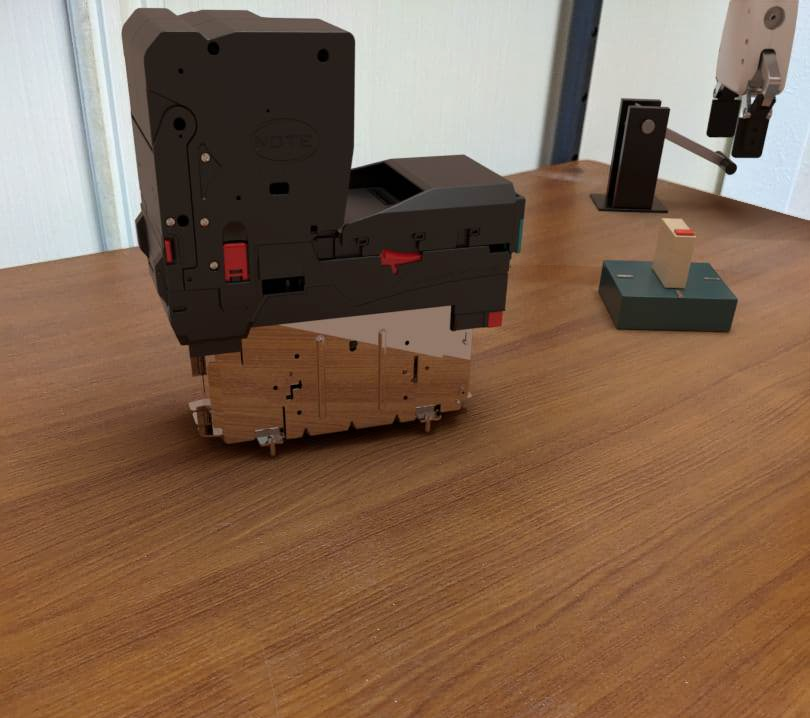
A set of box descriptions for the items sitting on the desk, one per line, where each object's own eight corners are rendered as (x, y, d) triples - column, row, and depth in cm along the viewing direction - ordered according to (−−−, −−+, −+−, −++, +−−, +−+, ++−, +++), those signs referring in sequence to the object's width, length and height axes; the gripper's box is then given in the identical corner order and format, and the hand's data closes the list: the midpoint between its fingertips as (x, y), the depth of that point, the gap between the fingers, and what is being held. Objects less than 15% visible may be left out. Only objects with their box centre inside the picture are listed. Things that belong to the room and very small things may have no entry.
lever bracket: (654, 205, 111) (674, 99, 104) (666, 221, 106) (688, 110, 99) (588, 203, 111) (604, 96, 104) (597, 219, 106) (614, 107, 99)
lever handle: (715, 168, 108) (728, 149, 107) (729, 181, 104) (742, 161, 102) (620, 120, 105) (632, 99, 104) (630, 131, 100) (643, 109, 99)
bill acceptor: (506, 424, 66) (551, 26, 51) (182, 474, 59) (125, 32, 44) (450, 362, 74) (475, 2, 59) (158, 400, 67) (103, 4, 52)
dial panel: (701, 293, 88) (709, 260, 86) (730, 332, 80) (739, 297, 79) (597, 290, 88) (603, 257, 86) (616, 329, 80) (623, 294, 78)
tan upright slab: (651, 267, 84) (662, 215, 81) (671, 268, 84) (682, 215, 81) (664, 288, 80) (676, 233, 77) (685, 288, 80) (697, 234, 77)
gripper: (837, -24, 87) (792, 166, 97) (775, -38, 101) (741, 130, 111) (758, -24, 87) (721, 166, 97) (707, -38, 101) (679, 129, 111)
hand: (732, 146), depth 104 cm, fingers open, 9 cm apart
